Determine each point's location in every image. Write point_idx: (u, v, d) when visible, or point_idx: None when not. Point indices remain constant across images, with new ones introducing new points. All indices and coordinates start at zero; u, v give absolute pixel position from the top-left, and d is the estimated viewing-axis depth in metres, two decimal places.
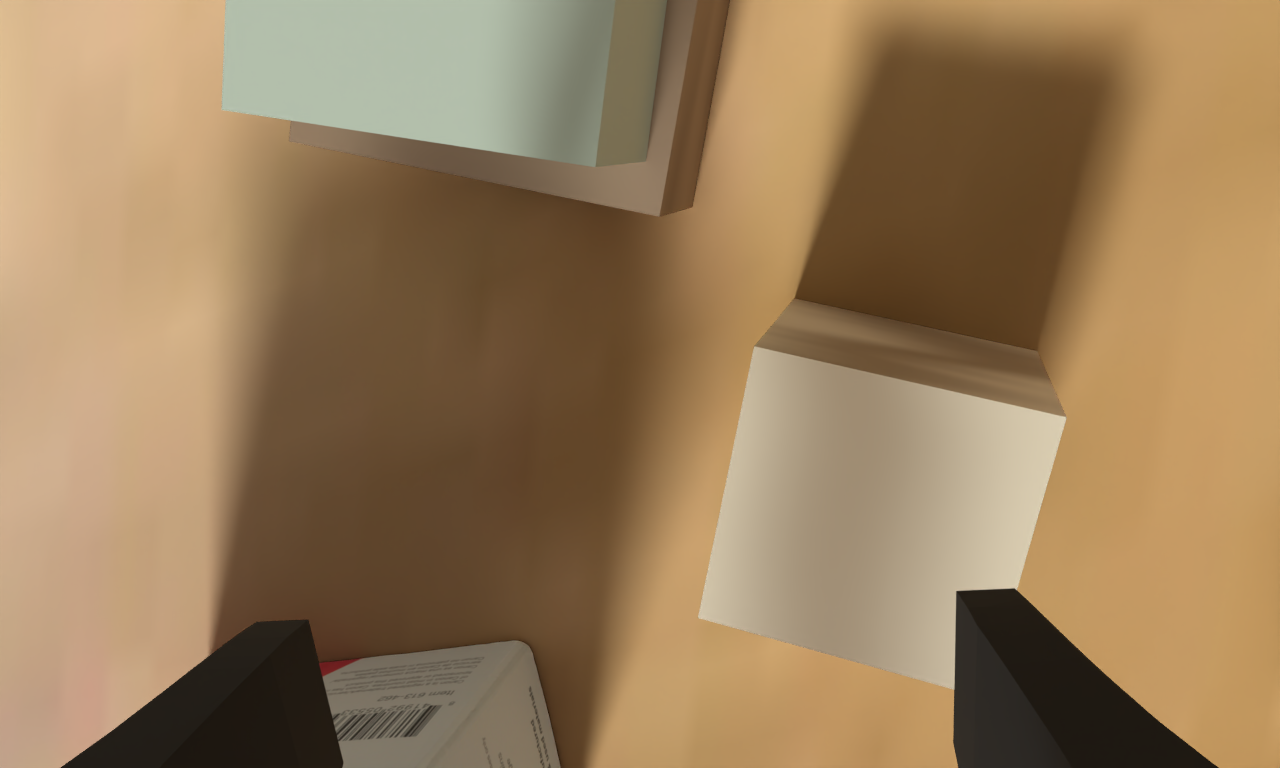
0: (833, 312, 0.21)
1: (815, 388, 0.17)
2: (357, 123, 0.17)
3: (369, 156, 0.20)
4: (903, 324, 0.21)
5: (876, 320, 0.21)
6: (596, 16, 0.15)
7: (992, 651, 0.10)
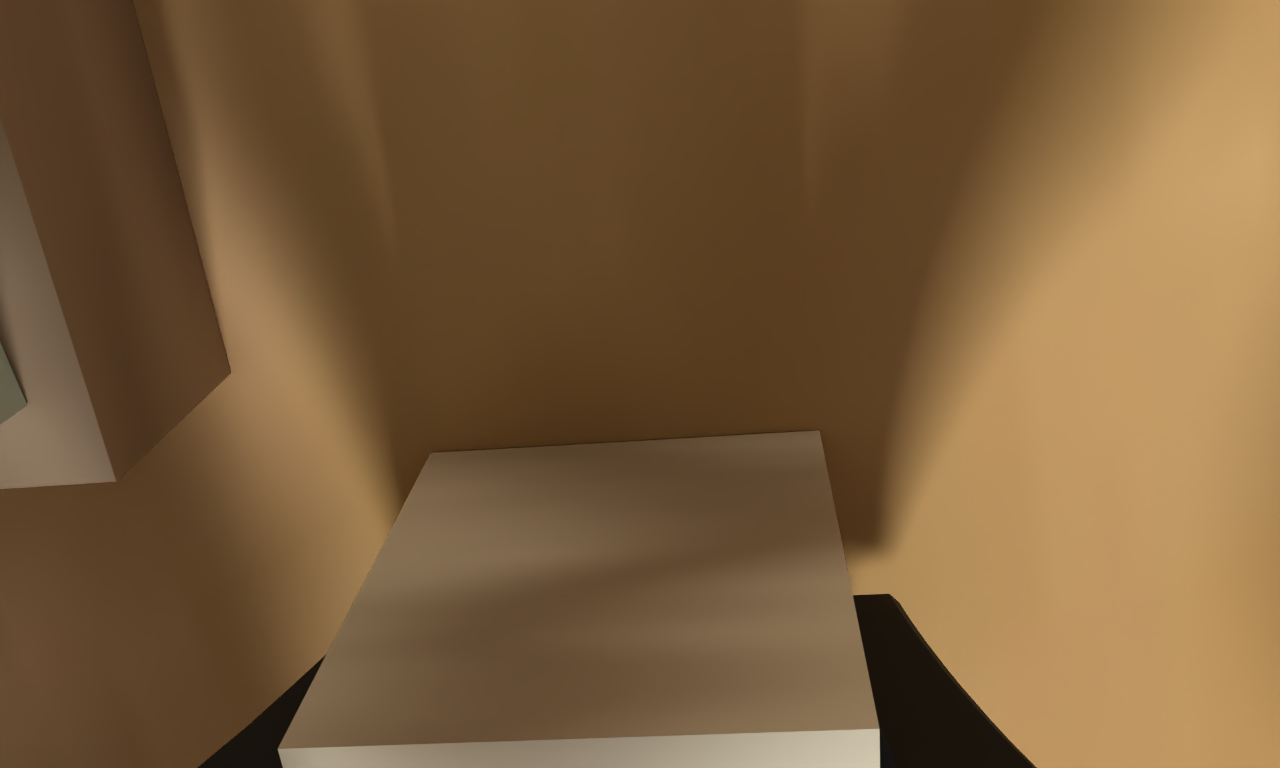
0: (487, 475, 0.12)
1: None
2: None
3: None
4: (603, 457, 0.13)
5: (559, 465, 0.13)
6: None
7: None
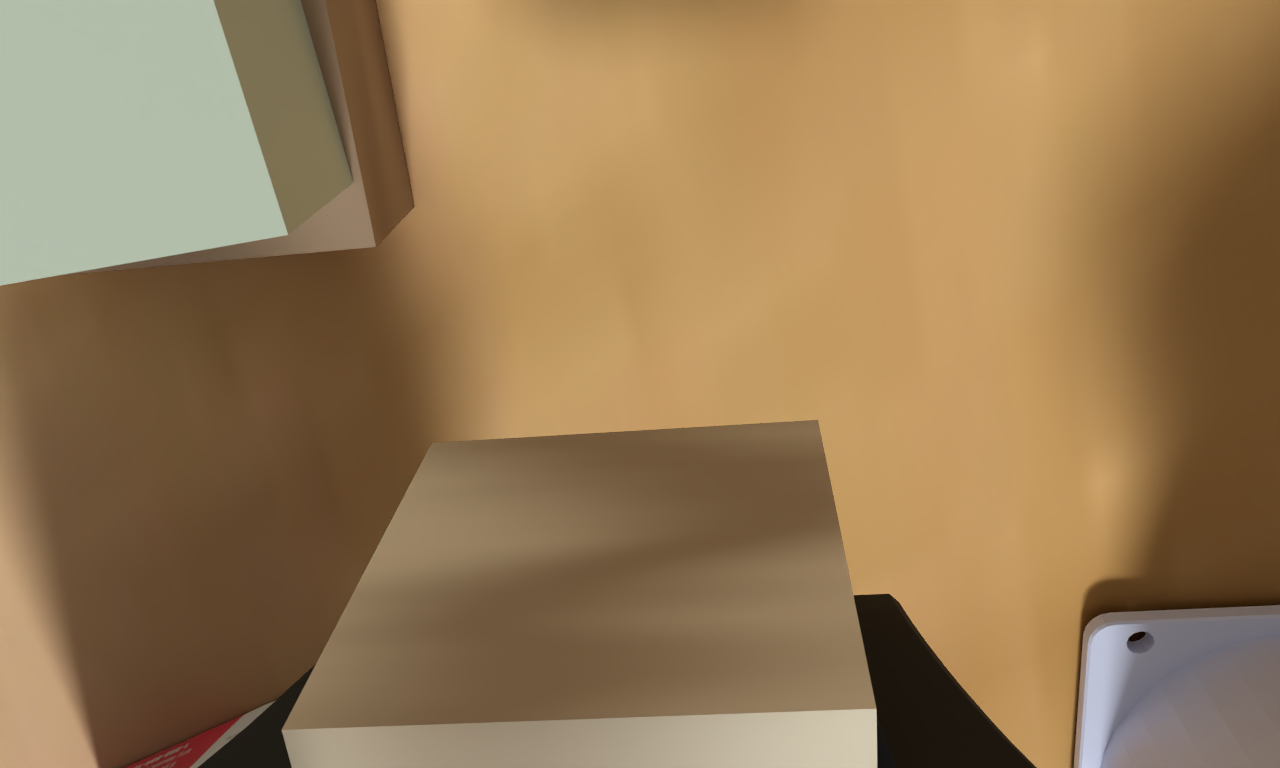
0: (488, 464, 0.13)
1: None
2: (27, 272, 0.15)
3: None
4: (603, 446, 0.13)
5: (560, 454, 0.13)
6: (220, 83, 0.14)
7: None
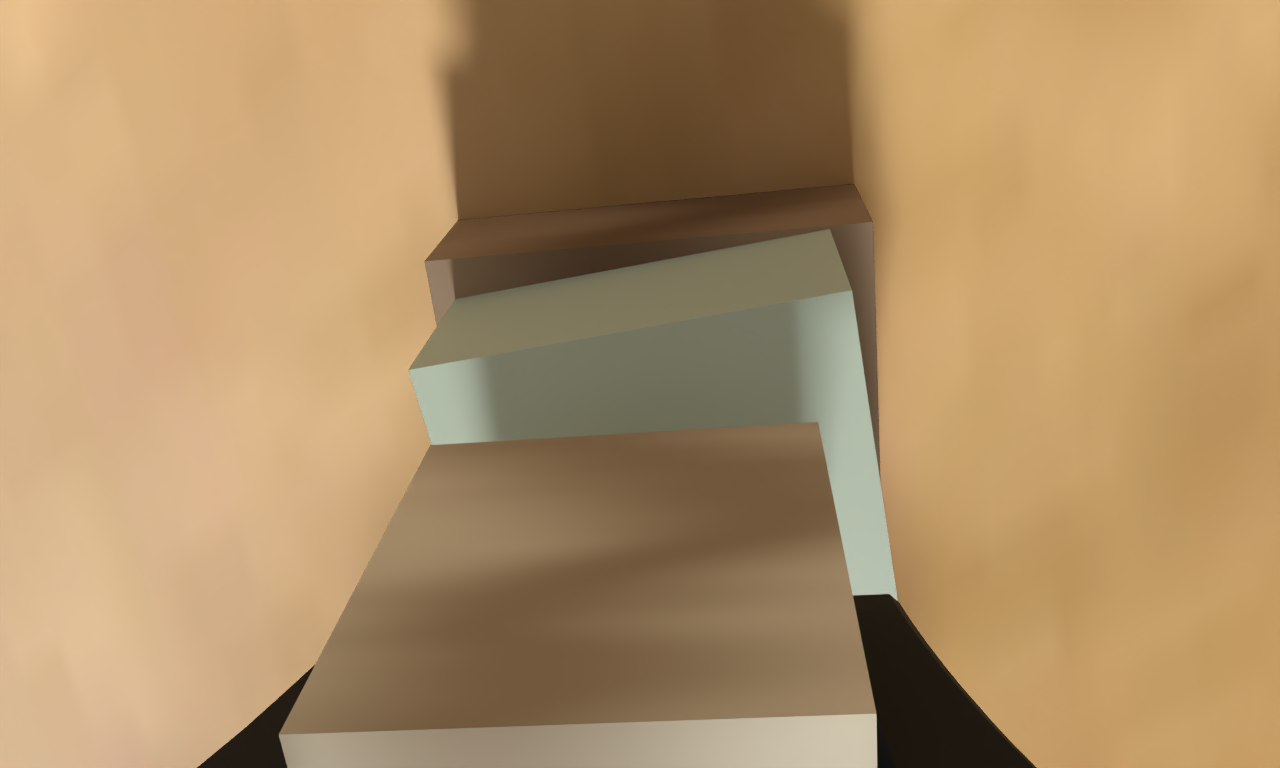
0: (487, 467, 0.12)
1: None
2: None
3: None
4: (603, 448, 0.13)
5: (559, 456, 0.13)
6: (873, 556, 0.16)
7: None
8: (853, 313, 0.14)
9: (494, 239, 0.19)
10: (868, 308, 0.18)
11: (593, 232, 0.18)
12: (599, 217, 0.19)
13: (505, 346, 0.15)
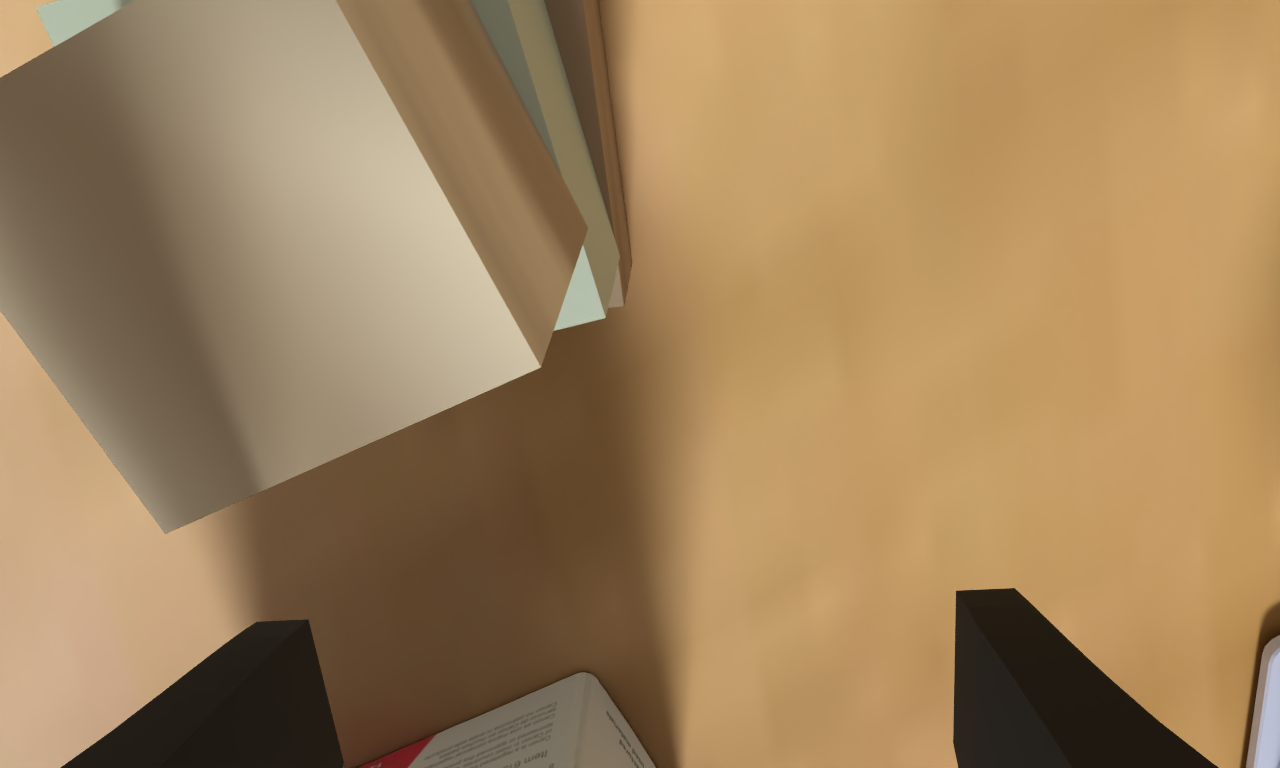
0: None
1: None
2: None
3: None
4: None
5: None
6: None
7: (993, 651, 0.10)
8: None
9: None
10: None
11: None
12: None
13: None
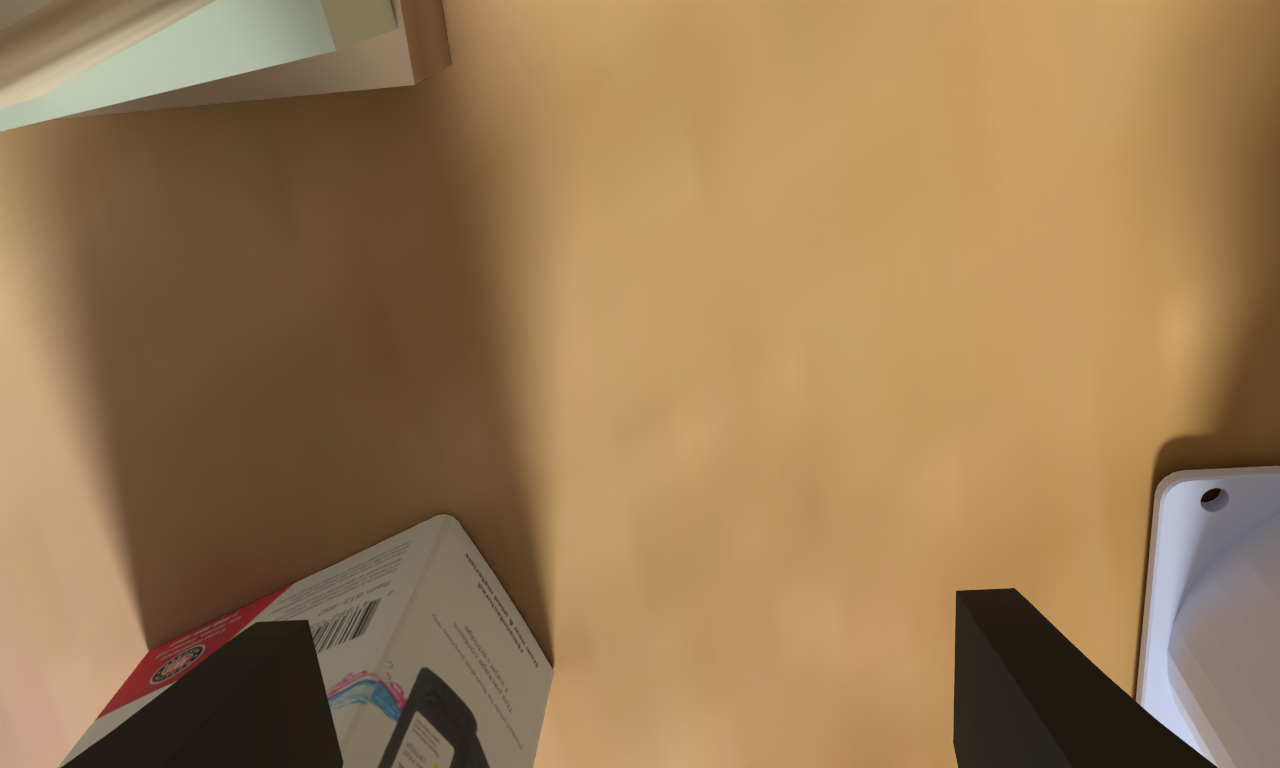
0: None
1: None
2: (80, 104, 0.15)
3: (96, 114, 0.18)
4: None
5: None
6: None
7: (992, 651, 0.10)
8: None
9: None
10: None
11: None
12: None
13: None
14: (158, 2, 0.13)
